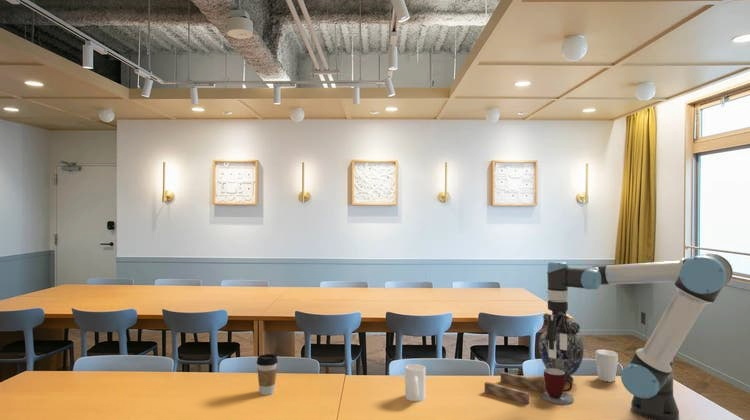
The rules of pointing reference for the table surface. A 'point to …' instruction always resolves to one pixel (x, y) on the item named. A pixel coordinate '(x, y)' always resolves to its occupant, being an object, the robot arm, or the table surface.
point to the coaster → (558, 399)
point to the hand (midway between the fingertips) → (558, 353)
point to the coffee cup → (267, 373)
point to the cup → (606, 364)
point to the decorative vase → (564, 358)
